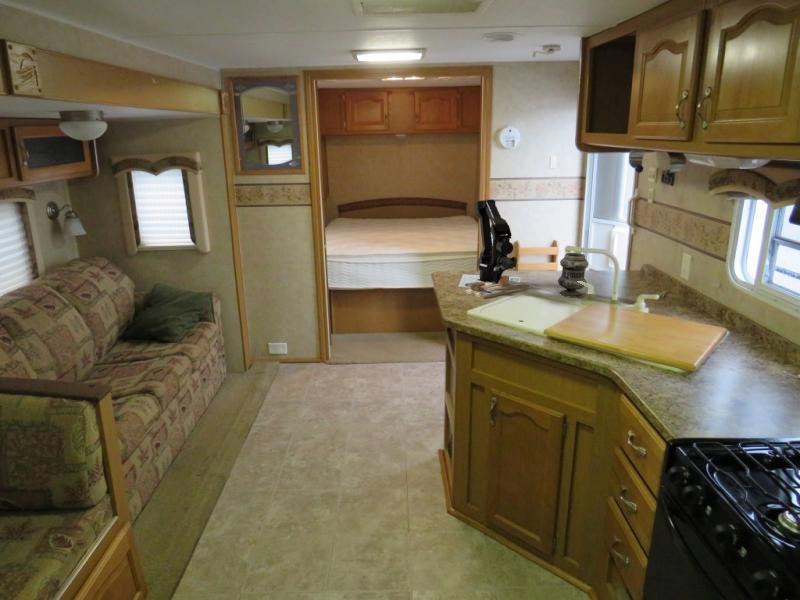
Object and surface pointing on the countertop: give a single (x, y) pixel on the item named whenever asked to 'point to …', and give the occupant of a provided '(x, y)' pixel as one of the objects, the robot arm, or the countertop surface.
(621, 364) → the countertop surface
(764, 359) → the countertop surface
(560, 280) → the apothecary jar
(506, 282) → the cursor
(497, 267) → the robot arm
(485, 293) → the beam board
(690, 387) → the countertop surface
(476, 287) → the fixed point
